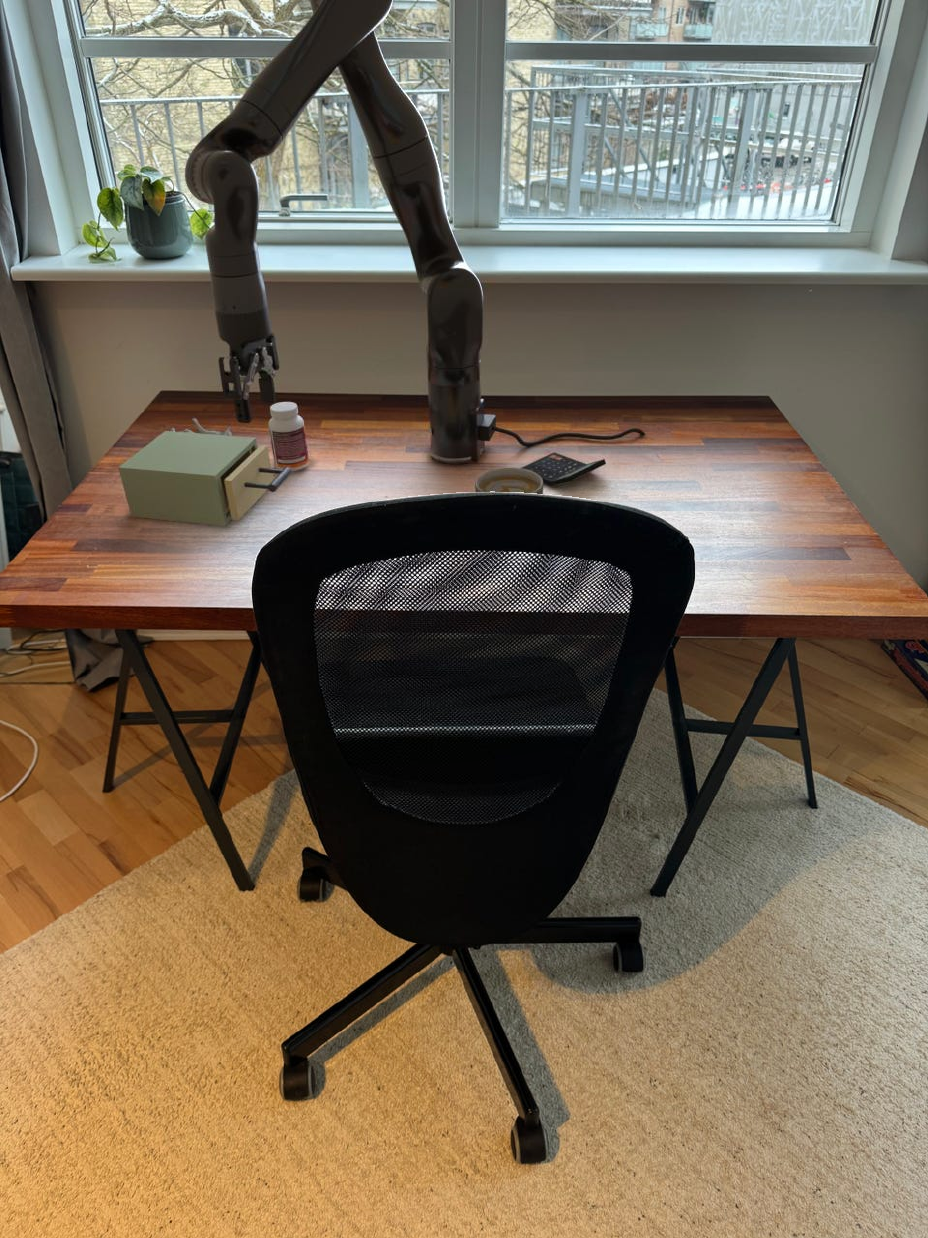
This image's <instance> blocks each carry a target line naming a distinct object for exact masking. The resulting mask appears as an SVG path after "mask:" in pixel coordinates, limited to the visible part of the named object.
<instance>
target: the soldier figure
mask: <svg viewBox="0 0 928 1238" xmlns="http://www.w3.org/2000/svg"><path fill="white" fill-rule="evenodd" d="M191 421H193V423H194V424H195V427H196V428H197V429H198V432H199V433H200V434H213V435H226V436H233V432H232V429H231V427H229V426H228V428H227V429H226V430H223V431H222V432H221V431H219V430H218V431H217V430H213V429H212V430H207V429H204V427H202V425H201V424H200V423H199V421H198V419H197V418H196V417H193V418H192V419H191ZM170 431H174V432H176V429H175V428H174V427H171V428H170ZM179 432H187V433H194V431H192V430H190V429H187V428H185V429H183V430H180V431H179Z"/></svg>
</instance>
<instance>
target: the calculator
mask: <svg viewBox="0 0 928 1238" xmlns="http://www.w3.org/2000/svg"><path fill="white" fill-rule="evenodd" d="M606 464H607V462H606V459H605V458H603V459H599V460H596V461H593V462H589V463H585V462H582V461H580V460H577V459H573V458H571V457H568V456H565V455H563V454H560V453H558V452H551V453H549V454H547V455H545V456H543V457H541V458H539V459H537V460H535V461H533V462H531V463H528V464H526V465H524V466H521V468H522V469H526V470H530V471H532V472H535V473H536V474H538V475H539V476H540V477H541V478H542V480H543V485H547V486H549V487H554V486H559V485H563V484H566V483H572V482H573V481H575V480H578V479H579V478H581V477H583V476H584V475H587V474H589V473H591V472H593V471H595V470H597V469H599V468H601V467H602V466H605V465H606Z"/></svg>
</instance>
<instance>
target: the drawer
mask: <svg viewBox="0 0 928 1238" xmlns="http://www.w3.org/2000/svg"><path fill="white" fill-rule="evenodd" d="M257 447H258V448H257V449H256V450H255V451H254V452H253V453H252V450H251V449H250V450H248V451H247V452H246V453H245V454H244V455H243V456H242V457H241V458H240V459H239V460H238V461H237V462H236V463H235V464H234V465H233V466H232V467H230V468H229V469H228V470H227V471H226V472H225V473H224V474H223V475H222V476H221V477H220V478H219V483H220V488H221V493H222V497H223V502H224V507H225V512H226V514H227V513H228V512H229V511H230V513H231V518H232V520H231V521H240V520H241V518H243V516H244V515H245V514H246V513H248V511H249V510H250V509H251V508H252V507H253V505H255V504H256V502H258V500H259V499H260V498H261V497H262V496H263V495H264V494H265V493H266V492H267V491H269V492H270V493H276V492H277V491H278V490H279V488H280V487H281V486H282V485H283V484H284V483H285V482H286V480H287V479H288V478H289V477H290V476H291V475H292V473H293V471H292V470H291V469H290V468H289V467H286V468H284V469H283V470H282V469H277V468H272V464H271V458H270V453H269V447H268V445H266V444H265V445H264V444H260V445H259V446H257ZM273 474H277V475H276V476H275V477H274V476H273Z"/></svg>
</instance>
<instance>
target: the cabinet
mask: <svg viewBox="0 0 928 1238" xmlns="http://www.w3.org/2000/svg"><path fill="white" fill-rule="evenodd" d="M258 447H259V446H258V443H257V437H251V436H249V437H248V436H238V435H237V436H236V435H232V436H226V435H213V434H202V433H201V432H199V433H197V432H193V433H187V432H180V431H175V432H174V431H171V430H165V431H163V432H162V433H160V434H159V435H157V436H156V437H155V438H153V440H151V441H150V442H149V443H148V444H146V445H145V446H144V447H142V448H141V449H140V450H139V451H137V452H136V453H134V454H133V455H132V456H131V457H130V458H128V459H126V461H124V462H123V463H122V464H120V465H119V466H117V469H118V473H119V476H120V480H121V484H122V487H123V491H124V495H125V498H126V501H127V507H128V509H129V512H130V517H131V518H140V519H142V518H143V519H148V520H149V519H150V520H161V521H169V522H170V521H171V522H178V523H179V522H181V523H190V524H201V525H210V526H218V527H219V526H220V527H226V526H227V525H228V524H230V522H231V521H233V520H232V518H231V513H230V511H229V512H228V513H227V514H226V512H225V507H224V502H223V497H222V493H221V488H220V483H219V478H220V477H221V476H222V475H223V474H224V473H225V472H226V471H227V470H228V469H229V468H230V467H232V466H233V465H234V464H235V463H236V462H237V461H238V460H239V459H240V458H241V457H242V456H243V455H244V454H245V453H246V452H247V451H248V450H250V449H251V450H252V453H253V452H254V451H255V450H256V449H257V448H258Z"/></svg>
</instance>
